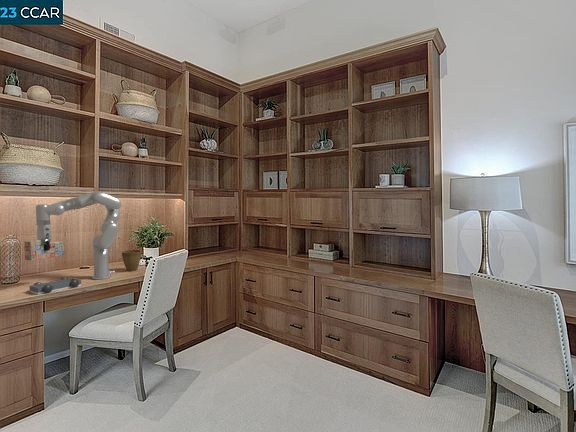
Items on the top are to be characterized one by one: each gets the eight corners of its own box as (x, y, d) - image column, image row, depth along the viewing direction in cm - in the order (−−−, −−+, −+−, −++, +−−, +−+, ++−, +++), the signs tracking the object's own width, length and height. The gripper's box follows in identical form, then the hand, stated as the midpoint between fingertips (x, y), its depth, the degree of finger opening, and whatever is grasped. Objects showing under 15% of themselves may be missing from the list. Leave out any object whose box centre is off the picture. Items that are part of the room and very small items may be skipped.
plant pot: (121, 269, 282) (121, 250, 281) (140, 268, 289) (140, 249, 288) (122, 273, 268) (121, 253, 268) (142, 271, 276) (142, 251, 275)
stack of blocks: (58, 254, 238) (57, 237, 237) (64, 255, 235) (63, 237, 235) (24, 259, 218) (24, 240, 217) (31, 260, 216) (30, 241, 215)
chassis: (71, 283, 235) (71, 276, 235) (82, 285, 228) (82, 278, 228) (28, 291, 213) (28, 283, 212) (39, 294, 206) (39, 286, 206)
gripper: (56, 223, 224) (57, 250, 225) (43, 222, 233) (44, 248, 234) (43, 223, 217) (44, 251, 218) (30, 222, 226) (31, 249, 227)
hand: (44, 249), depth 226 cm, fingers closed on stack of blocks, 6 cm apart
